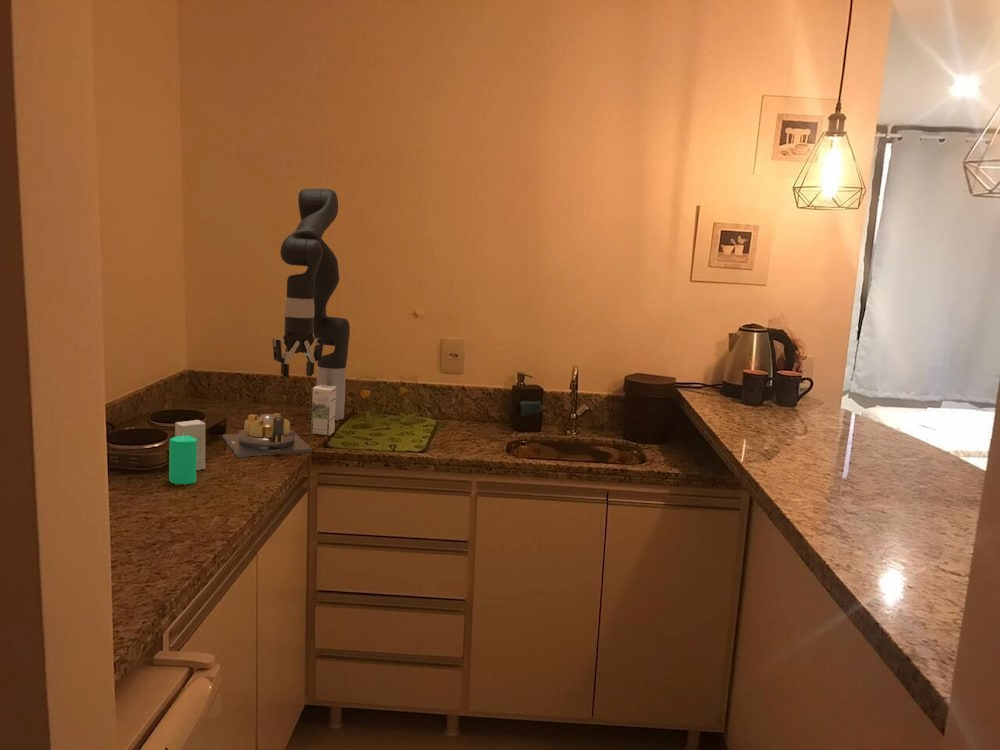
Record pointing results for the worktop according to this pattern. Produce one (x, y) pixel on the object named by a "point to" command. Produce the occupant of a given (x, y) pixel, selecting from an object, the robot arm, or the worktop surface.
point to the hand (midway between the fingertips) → (297, 376)
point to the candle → (182, 459)
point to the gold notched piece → (267, 427)
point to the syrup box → (323, 410)
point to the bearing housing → (265, 442)
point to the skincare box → (196, 431)
